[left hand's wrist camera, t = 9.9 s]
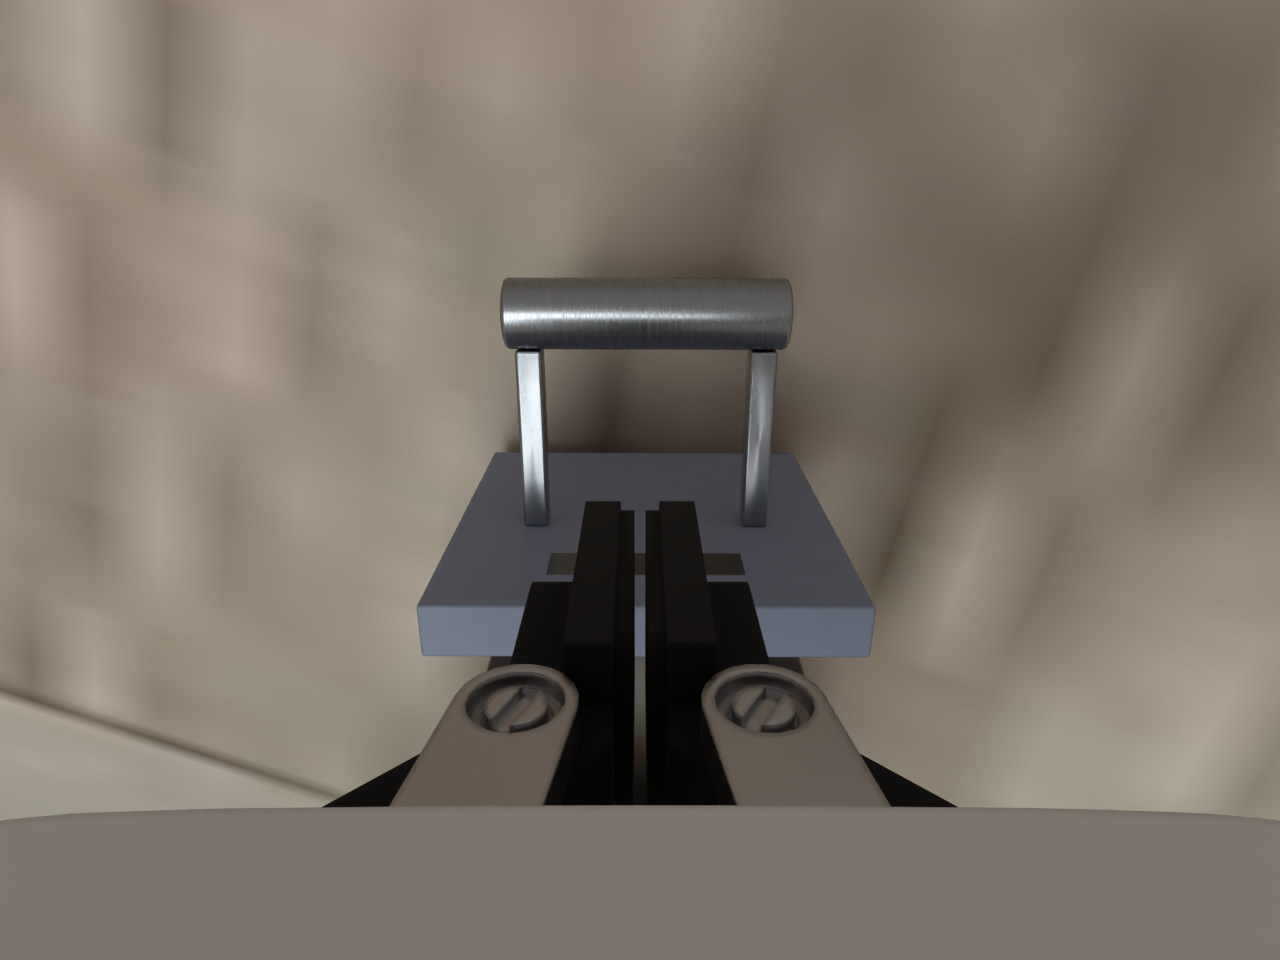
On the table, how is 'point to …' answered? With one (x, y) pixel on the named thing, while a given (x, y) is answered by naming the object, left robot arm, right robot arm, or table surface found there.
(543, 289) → the drawer
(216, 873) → the left robot arm
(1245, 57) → the table surface
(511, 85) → the table surface
